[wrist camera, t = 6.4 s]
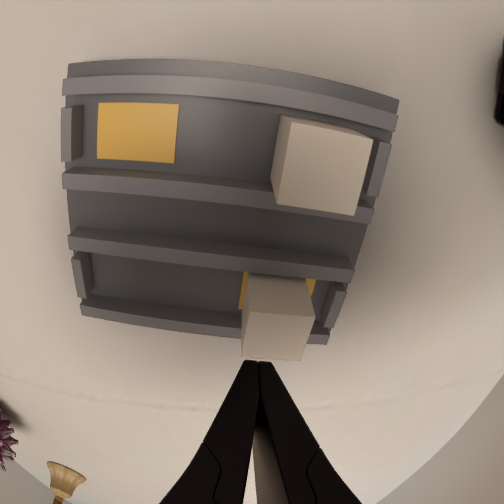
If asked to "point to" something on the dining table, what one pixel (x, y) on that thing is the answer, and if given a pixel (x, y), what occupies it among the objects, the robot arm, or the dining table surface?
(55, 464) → the hand bell
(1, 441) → the flower
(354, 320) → the dining table surface
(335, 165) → the beige rectangular block
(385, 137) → the switch bank
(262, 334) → the tab
